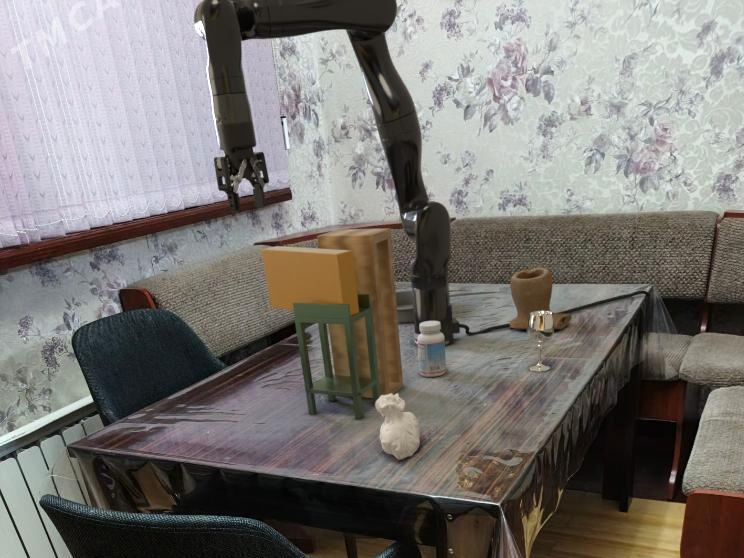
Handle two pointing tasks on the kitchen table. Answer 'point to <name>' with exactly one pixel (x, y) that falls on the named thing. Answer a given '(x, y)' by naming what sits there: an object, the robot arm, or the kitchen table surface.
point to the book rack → (330, 382)
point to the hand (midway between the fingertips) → (248, 210)
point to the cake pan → (404, 306)
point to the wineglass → (540, 333)
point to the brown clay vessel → (533, 297)
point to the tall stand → (380, 283)
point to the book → (310, 276)
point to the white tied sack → (397, 427)
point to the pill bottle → (431, 349)
